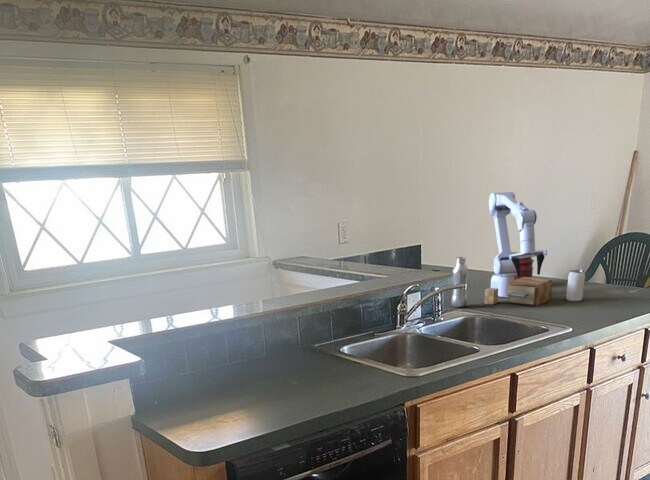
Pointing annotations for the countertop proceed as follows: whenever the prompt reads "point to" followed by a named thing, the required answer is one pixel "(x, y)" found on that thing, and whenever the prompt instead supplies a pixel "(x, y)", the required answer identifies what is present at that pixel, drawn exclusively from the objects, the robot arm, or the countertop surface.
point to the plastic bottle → (459, 282)
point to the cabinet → (541, 286)
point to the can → (575, 285)
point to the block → (491, 295)
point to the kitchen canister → (525, 266)
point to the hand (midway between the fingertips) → (528, 275)
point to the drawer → (521, 294)
